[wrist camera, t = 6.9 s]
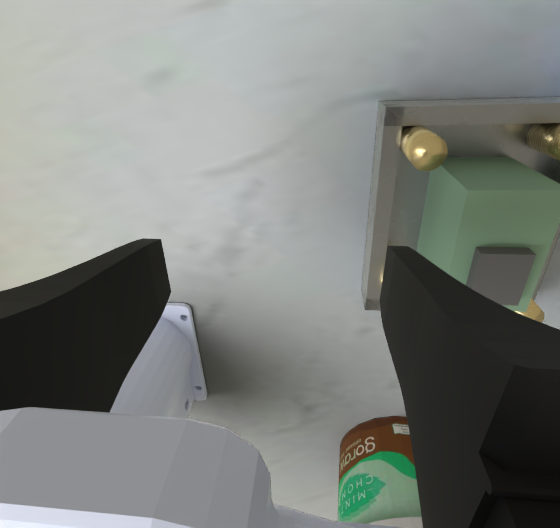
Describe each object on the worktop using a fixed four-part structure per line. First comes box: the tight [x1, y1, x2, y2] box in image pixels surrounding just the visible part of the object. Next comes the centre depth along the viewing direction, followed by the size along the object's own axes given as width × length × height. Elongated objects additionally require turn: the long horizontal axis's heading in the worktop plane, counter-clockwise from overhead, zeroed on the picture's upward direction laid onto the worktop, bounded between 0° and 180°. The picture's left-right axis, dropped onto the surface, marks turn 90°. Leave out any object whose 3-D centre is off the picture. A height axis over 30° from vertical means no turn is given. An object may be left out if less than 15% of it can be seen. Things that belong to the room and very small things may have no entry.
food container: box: [338, 416, 423, 528], centre depth 27 cm, size 12×6×10 cm, turn 160°
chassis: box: [362, 97, 560, 322], centre depth 18 cm, size 11×9×4 cm
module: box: [417, 157, 560, 312], centre depth 17 cm, size 6×4×6 cm, turn 2°
